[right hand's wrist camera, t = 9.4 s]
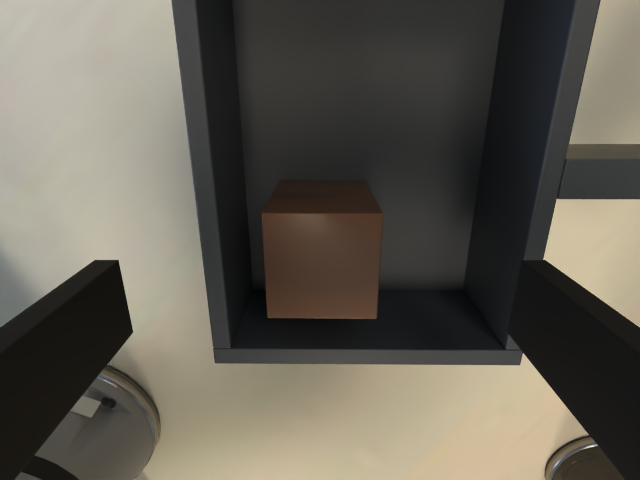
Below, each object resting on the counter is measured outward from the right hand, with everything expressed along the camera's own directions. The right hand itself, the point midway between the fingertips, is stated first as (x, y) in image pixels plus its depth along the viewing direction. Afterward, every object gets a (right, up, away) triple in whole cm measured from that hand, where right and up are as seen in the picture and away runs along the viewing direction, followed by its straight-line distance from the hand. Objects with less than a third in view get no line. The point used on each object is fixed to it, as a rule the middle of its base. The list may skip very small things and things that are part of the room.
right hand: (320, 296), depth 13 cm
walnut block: (0, +3, +8) cm, 8 cm away
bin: (+8, +6, +7) cm, 12 cm away
